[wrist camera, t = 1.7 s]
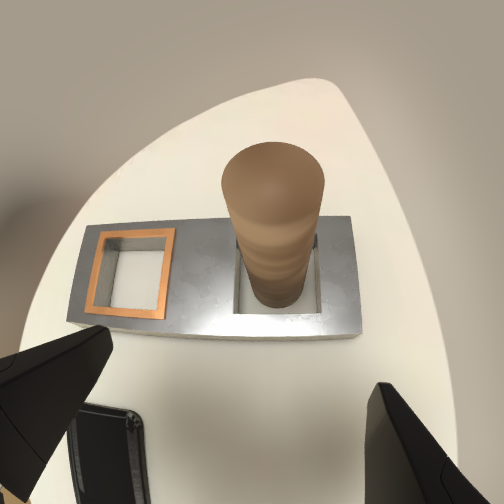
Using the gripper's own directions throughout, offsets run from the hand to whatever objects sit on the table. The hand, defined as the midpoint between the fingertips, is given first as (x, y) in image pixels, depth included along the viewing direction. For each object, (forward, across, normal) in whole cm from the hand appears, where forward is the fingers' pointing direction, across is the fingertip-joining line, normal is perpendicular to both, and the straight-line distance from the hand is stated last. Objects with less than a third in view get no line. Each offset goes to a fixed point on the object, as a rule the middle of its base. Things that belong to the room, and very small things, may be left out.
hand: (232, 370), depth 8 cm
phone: (0, +10, +19) cm, 22 cm away
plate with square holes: (+14, +6, +5) cm, 15 cm away
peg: (+14, 0, +4) cm, 15 cm away
